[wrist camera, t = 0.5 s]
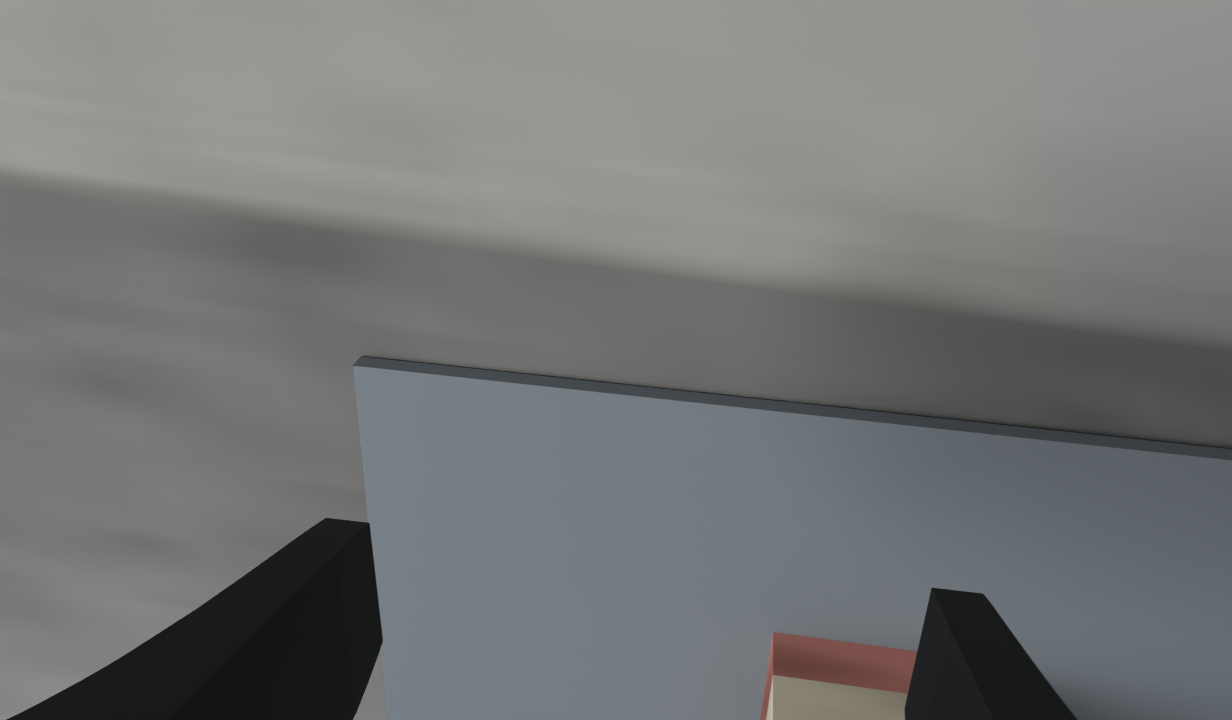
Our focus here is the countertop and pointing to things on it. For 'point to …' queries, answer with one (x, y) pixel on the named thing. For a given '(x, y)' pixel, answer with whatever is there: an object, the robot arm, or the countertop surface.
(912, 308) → the countertop surface
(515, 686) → the slate mat
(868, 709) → the birch block
